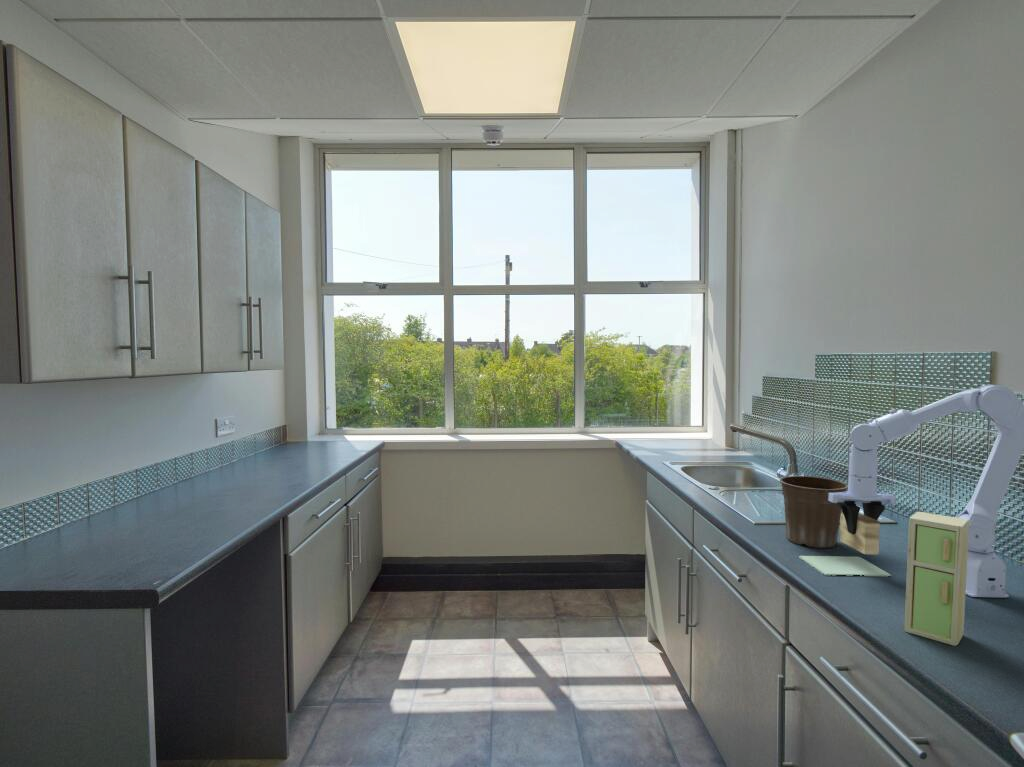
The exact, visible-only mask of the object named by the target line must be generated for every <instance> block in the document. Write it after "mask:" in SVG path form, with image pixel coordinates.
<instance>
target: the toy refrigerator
mask: <svg viewBox="0 0 1024 767" xmlns="http://www.w3.org/2000/svg"><path fill="white" fill-rule="evenodd" d="M956 517H957V516H956ZM956 517H953V516H949V515H943V514H937V513H936V514H935V513H930V512H926V511H916V512H915V513H913V514H912V515H910V517H909V520H908V534H907V538H908V540H907V558H906V559H907V560H906V561H907V563H906V579H905V580H906V582H905V586H906V587H905V605H904V606H905V607H904V609H905V610H904V632H905V633H909V634H912V635H915V636H919V637H923V638H926V639H930V640H933V641H935V642H940V643H944V644H947V645H950V646H953V647H956V646H958V644H959V643H960V641H961V640H962V639H963V636H964V631H965V615H966V614H965V613H966V596H967V594H966V574H967V553H968V532H969V520H967V519H962V518H956Z"/></svg>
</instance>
